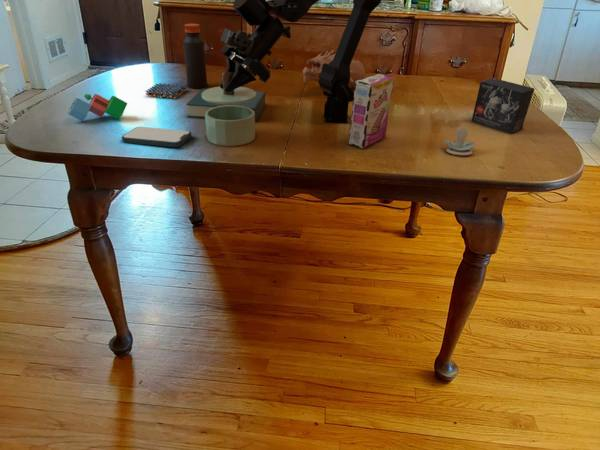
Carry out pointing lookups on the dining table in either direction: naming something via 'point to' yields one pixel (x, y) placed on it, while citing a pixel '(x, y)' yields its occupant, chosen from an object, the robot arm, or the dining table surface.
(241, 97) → the cover
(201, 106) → the book
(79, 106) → the building blocks
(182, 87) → the woven mat
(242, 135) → the dish
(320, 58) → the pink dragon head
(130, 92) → the dining table surface
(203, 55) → the bottle
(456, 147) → the pacifier
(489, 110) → the small box
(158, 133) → the smartphone
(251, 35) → the robot arm
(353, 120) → the candy bar box
